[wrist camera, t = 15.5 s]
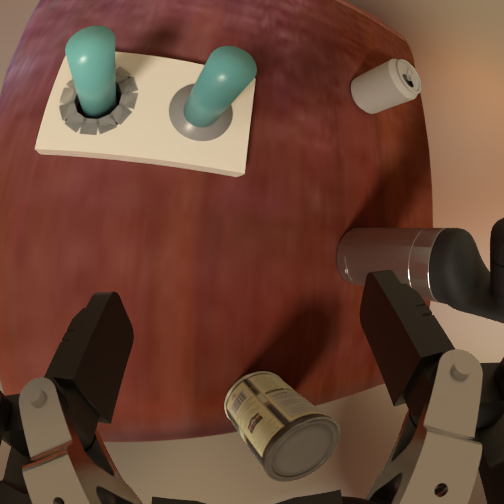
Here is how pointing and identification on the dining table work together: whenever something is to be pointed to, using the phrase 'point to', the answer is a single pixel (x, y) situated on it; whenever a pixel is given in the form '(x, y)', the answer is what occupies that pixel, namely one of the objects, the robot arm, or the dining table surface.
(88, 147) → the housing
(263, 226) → the dining table surface
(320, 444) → the coffee can
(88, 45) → the pin
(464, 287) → the robot arm
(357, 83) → the can
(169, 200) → the dining table surface
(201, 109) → the seated pin
